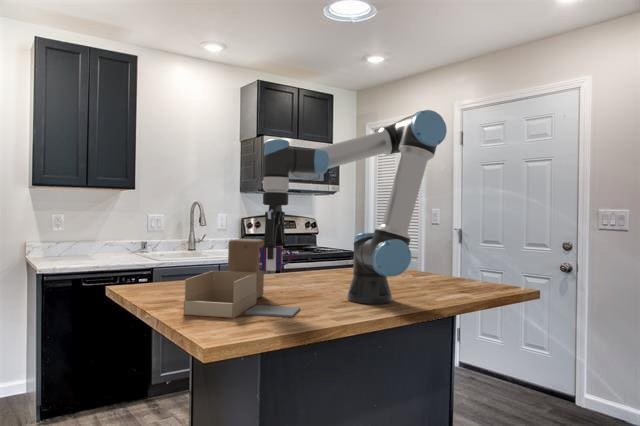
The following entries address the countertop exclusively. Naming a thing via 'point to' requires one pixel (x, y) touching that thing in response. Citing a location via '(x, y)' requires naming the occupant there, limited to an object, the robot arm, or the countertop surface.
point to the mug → (278, 258)
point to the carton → (220, 293)
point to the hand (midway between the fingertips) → (274, 268)
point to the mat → (273, 311)
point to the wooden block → (246, 259)
